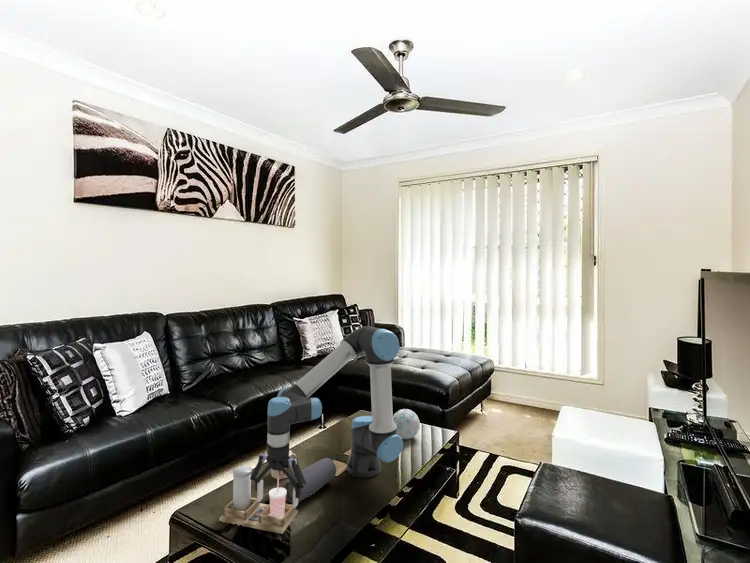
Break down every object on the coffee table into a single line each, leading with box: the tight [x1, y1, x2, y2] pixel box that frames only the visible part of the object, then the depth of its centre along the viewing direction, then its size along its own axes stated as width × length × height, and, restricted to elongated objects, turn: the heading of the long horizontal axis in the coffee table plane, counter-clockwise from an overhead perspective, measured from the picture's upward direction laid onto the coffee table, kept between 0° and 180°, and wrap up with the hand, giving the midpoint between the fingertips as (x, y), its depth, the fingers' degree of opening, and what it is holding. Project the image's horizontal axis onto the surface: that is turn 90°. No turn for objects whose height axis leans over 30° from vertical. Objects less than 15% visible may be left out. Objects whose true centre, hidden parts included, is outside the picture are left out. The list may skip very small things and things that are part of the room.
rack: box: [218, 497, 299, 535], centre depth 145 cm, size 24×12×4 cm, turn 76°
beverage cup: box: [268, 477, 287, 518], centre depth 143 cm, size 6×6×14 cm
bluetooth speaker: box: [283, 457, 337, 504], centre depth 162 cm, size 23×9×10 cm, turn 149°
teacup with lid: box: [270, 449, 297, 480], centre depth 177 cm, size 12×9×12 cm
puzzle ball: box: [393, 408, 421, 440], centre depth 217 cm, size 15×15×15 cm
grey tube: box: [232, 465, 253, 511], centre depth 147 cm, size 7×7×15 cm
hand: (277, 503), depth 143 cm, fingers open, 13 cm apart
